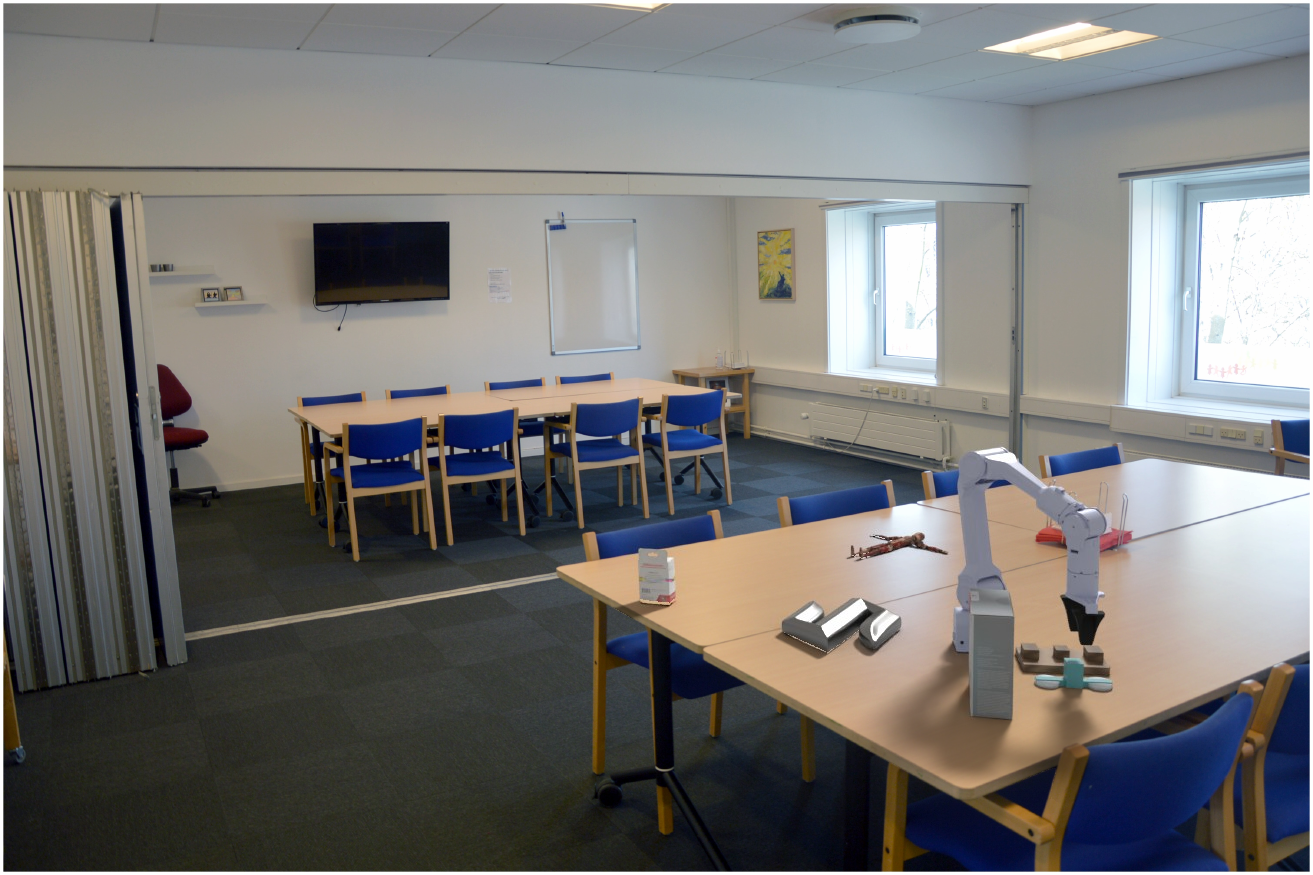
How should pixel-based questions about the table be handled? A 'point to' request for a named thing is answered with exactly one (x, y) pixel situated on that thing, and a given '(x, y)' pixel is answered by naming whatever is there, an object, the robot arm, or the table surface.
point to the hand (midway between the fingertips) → (1080, 637)
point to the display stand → (1061, 658)
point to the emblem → (842, 624)
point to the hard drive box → (991, 653)
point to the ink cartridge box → (656, 576)
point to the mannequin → (896, 545)
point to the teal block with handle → (1073, 678)
